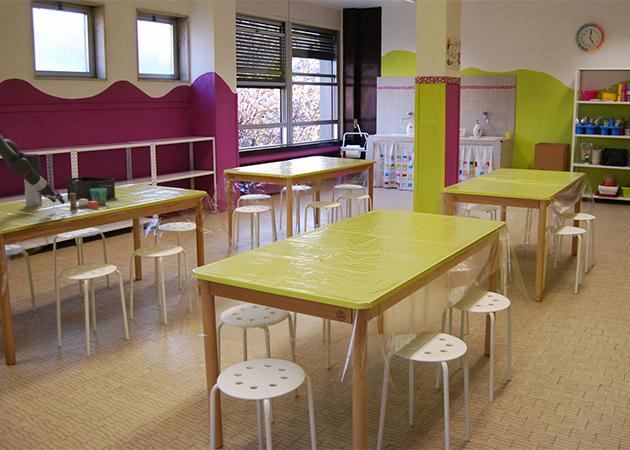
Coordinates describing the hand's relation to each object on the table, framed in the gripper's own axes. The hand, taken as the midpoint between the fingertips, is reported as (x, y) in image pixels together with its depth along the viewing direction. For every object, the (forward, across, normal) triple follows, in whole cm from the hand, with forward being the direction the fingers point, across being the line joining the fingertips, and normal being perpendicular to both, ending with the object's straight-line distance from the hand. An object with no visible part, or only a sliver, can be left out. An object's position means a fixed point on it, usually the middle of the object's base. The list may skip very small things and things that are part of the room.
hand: (59, 202), depth 399 cm
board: (+15, -3, +5) cm, 17 cm away
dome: (+17, -3, +10) cm, 19 cm away
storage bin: (+40, -33, +29) cm, 60 cm away
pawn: (+11, 0, +2) cm, 11 cm away
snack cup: (+29, -6, +19) cm, 35 cm away
